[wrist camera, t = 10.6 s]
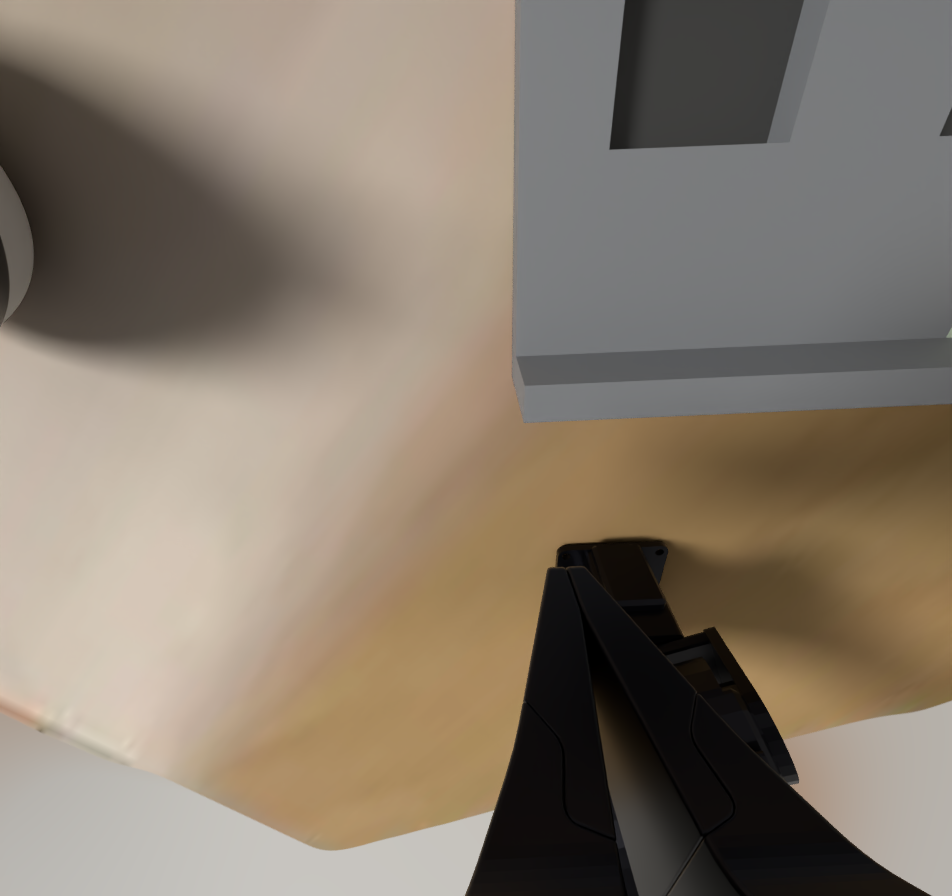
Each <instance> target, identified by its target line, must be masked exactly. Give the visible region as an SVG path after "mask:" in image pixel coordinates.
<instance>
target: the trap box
mask: <svg viewBox="0 0 952 896" xmlns="http://www.w3.org/2000/svg"><path fill="white" fill-rule="evenodd" d="M512 378H513V382H514V386H515V390H516V394H517V398H518V402H519V406H520V410H521V414H522V418H523V422H524V423H532V422H554V421H577V420H599V419H622V418H644V417H667V416H689V415H712V414H734V413H757V412H779V411H802V410H824V409H847V408H869V407H892V406H914V405H937V404H952V0H516V3H515V109H514V216H513V323H512Z"/></svg>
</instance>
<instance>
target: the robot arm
mask: <svg viewBox="0 0 952 896" xmlns="http://www.w3.org/2000/svg"><path fill="white" fill-rule="evenodd" d="M564 554H566V555H564ZM667 554H668V549H667V547H666V545H665V543H663V542H661V541H654V542H632V543H611V544H589V545H567V546H562V547H560V548H559V549H558V550H557V555H556V566H555V567H550V568H548V570H547V574H546V579H545V585H544V590H543V596H542V601H541V607H540V612H539V618H538V623H537V629H536V634H535V639H534V645H533V650H532V656H531V661H530V667H529V672H528V678H527V683H526V689H525V694H524V700H523V704H522V709H521V715H520V720H519V725H518V730H517V734H516V739H515V743H514V748H513V751H512V755H511V758H510V762H509V765H508V769H507V772H506V776H505V779H504V782H503V785H502V788H501V791H500V794H499V797H498V800H497V804H496V807H495V810H494V813H493V816H492V819H491V822H490V825H489V829H488V831H487V834H486V837H485V841H484V844H483V847H482V850H481V853H480V856H479V859H478V862H477V865H476V868H475V871H474V873H473V876H472V879H471V882H470V884H469V887H468V889H467V892H466V894H465V896H931V895H929V894H927V893H926V892H924V891H922V890H920V889H919V888H917V887H915V886H913V885H912V884H910V883H908V882H906V881H905V880H903V879H901V878H900V877H898V876H896V875H895V874H893V873H891V872H890V871H888V870H887V869H885V868H884V867H882V866H881V865H880V864H878V863H876V862H875V861H874V860H873V859H871V858H870V857H869V856H867V855H866V854H864V853H863V852H862V851H861V850H860V849H858V848H857V847H856V846H855V845H854V844H852V843H851V842H850V841H849V840H848V839H847V838H845V837H844V836H843V835H842V834H841V833H840V832H839V831H838V830H837V829H835V828H834V827H833V826H832V825H831V824H830V823H829V822H828V821H827V820H826V819H825V818H824V817H823V816H822V815H820V813H819V812H817V811H816V810H815V809H814V808H813V807H812V806H811V805H810V804H809V803H808V802H807V801H806V800H804V799H803V797H802V796H800V795H799V794H798V793H797V792H796V791H795V790H794V789H793V788H792V787H791V786H790V785H792V784H797V783H799V778H798V774H797V771H796V769H795V766H794V764H793V761H792V759H791V757H790V754H789V752H788V750H787V748H786V746H785V744H784V741H783V739H782V737H781V735H780V733H779V731H778V729H777V727H776V725H775V723H774V722H773V720H772V718H771V716H770V714H769V712H768V710H767V709H766V707H765V705H764V704H763V702H762V700H761V698H760V697H759V695H758V694H757V692H756V690H755V689H754V687H753V686H752V684H751V683H750V681H749V680H748V678H747V676H746V675H745V673H744V672H743V670H742V669H741V667H740V666H739V664H738V663H737V661H736V660H735V658H734V656H733V655H732V653H731V652H730V650H729V649H728V647H727V646H726V644H725V643H724V641H723V639H722V638H721V636H720V635H719V633H718V632H717V630H716V629H715V627H711V628H708V629H704V630H703V632H701V633H698V634H694V635H691V636H687V637H684V636H683V634H682V632H681V630H680V627H679V625H678V623H677V621H676V619H675V617H674V615H673V613H672V611H671V609H670V607H669V605H668V603H667V601H666V599H665V596H664V594H663V592H662V590H661V588H660V586H659V583H660V580H661V576H662V572H663V569H664V565H665V561H666V558H667Z"/></svg>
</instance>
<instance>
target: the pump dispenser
mask: <svg viewBox="0 0 952 896" xmlns="http://www.w3.org/2000/svg"><path fill="white" fill-rule="evenodd" d="M33 264H34V250H33V240H32V234H31V229H30V225H29V222H28V219H27V216H26V213H25V210H24V208H23V205H22V203H21V201H20V199H19V196H18V194H17V192H16V191H15V189H14V187H13V185H12V183H11V181H10V180H9V178H8V177H7V175H6V173H5V172H4V170H3V169H2V167H1V166H0V326H1V325H2V323H3V322H5V321H6V320H7V319H8V318H9V317H10V316H11V315H12V313H13V312H14V311H15V310H16V308H17V307H18V306H19V304H20V303H21V301H22V299H23V298H24V296H25V294H26V292H27V289H28V287H29V284H30V281H31V277H32V271H33Z"/></svg>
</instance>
